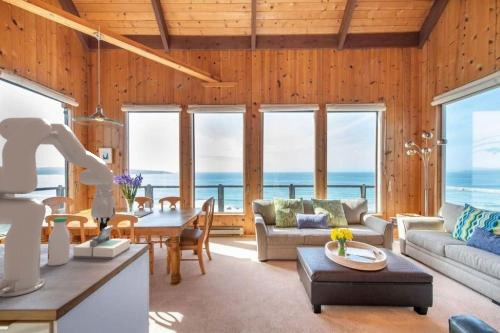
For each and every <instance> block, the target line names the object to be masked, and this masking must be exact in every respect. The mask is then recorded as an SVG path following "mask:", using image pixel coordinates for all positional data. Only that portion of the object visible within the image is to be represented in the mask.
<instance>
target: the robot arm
mask: <svg viewBox="0 0 500 333" xmlns="http://www.w3.org/2000/svg"><path fill="white" fill-rule="evenodd" d="M0 136H1V137H2V138H3V139H5V140H6V141H5V142H4V145H3V147H2V151H1V158H2V159H1V162H2V166H0V225H9V226H10V227H9V229H8V231H7V233H6V235H5V237H4V245H3V246H4V249H3V250H4V252H3V253H4V255H3V272H2V273H3V275H2V276H3V277H2V280H0V297H4V298H7V297H16V296H21V295H22V296H23V295H26V294H29V293H32V292H34V291H37V290H39V289H41V288H42V287H43V286H45V285H46V284H45V283H46V282H45V281H46V280H45V279H44V278H42V277H40V275H41V274H40V273H41V253H42V252H41V249H42V247H41V246H42V231H43V230H42V228H43V225H44V224H43V223H44V220H45V217H46V216H45V215H46V212H47V211H46V210H47V209H46V208H47V207H46V205H45V204H44V202H43V201H41V200H40V199H38V198H34V197H26V196H24V197H22V196H16V195H27V194H31V193H32V192H34V191H35V190H36V189H37V187H38V182H39V181H38V171H37V162H36V157H37V156H36V154H37V150H38V149H39V147H40V146H41V145H52V146H54V148H55V149H56V150H57V151H58V152H59V154H60V155H61V156H62V157H63V158H64V160H65V161H66V162H68V163H70V164H71V165H75V166H77V167H78V166H79V167H80V168H81V167H82V168H85V169H84V170H81V172H80V173H79V176H78V180H79V182H80V183H81V184H83V185H85V186H95V191H94V192H93V195H94V197H93V199H92V203H91V211H90V216H91V217H92V220H96V221H97V223H98V224H99V231H100V232H101V230H102V229H103V228H105V227H108V223H109V221H111V220H115V218H116V200H115V197H114V171H113V170H111V169H110V167H109V166H108V164H107V163H106V162H105V161H104V160H102V159H101V158H99V157H98V156H96V155H95V154H93V153H91V152H90V151H88V150H87V149H86V148H85V147H84V146H83V144H82V143H81V141H80V140H79V139H78V137H77V136H76V134H75V133H74V132H73V130H72V129H71V128H70V127H69V126H68V125H67V124H63V123H51V122H50V121H48V119H45V118H42V117H8V118H4V119H3V120H1V121H0Z"/></svg>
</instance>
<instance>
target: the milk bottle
mask: <svg viewBox="0 0 500 333" xmlns="http://www.w3.org/2000/svg"><path fill="white" fill-rule="evenodd" d="M67 219H68V218H67V217H64V216H61V217H60V216H59V217H54V218H53V227H52V230H51V232H50V234H49V236H48V241H47V244H48V245H47V265H48V266H52V267H53V266H55V267H56V266H60V265H65V264H68V263H69V261H70V249H71V248H70V247H71V235H70V231H69V229H68V228H67V224H66V223H67Z"/></svg>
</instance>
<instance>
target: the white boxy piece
mask: <svg viewBox="0 0 500 333" xmlns="http://www.w3.org/2000/svg"><path fill="white" fill-rule="evenodd" d="M98 236H99V235H97V236H94V237H92V238H91V239H90V240H87V241H84V242H82V243H80V244H78V245H75V246H73V256H72V258H74V259H97V260H98V259H99V260H114V259H116V258H117V257H119V256H120V255H122V254H124V253H126V252H127V251H129V250H130V248H131V239H130V238H128V239H127V238H111V237H112V236H111V234H109V235H108V237H107V238H108V239H107V240H105V241H103V242H101V243H99V244H97V241H96V240H97V238H98Z"/></svg>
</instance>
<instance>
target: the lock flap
mask: <svg viewBox="0 0 500 333" xmlns="http://www.w3.org/2000/svg"><path fill="white" fill-rule="evenodd" d="M113 227H114V225H112V224H111V225H107V227H105V228H103V229H102V230H101V231H100V233H99V234H98V235H97V236H98V238H97V240H96V241H97V244H99V243H101V242H103V241H105V240H107V239H108V238H107V237H108V235H110V233H111V231H112V230H113Z"/></svg>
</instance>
